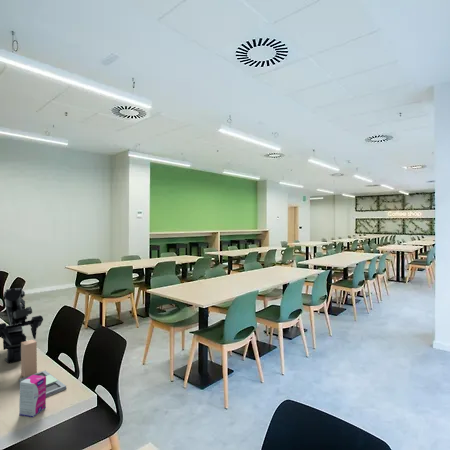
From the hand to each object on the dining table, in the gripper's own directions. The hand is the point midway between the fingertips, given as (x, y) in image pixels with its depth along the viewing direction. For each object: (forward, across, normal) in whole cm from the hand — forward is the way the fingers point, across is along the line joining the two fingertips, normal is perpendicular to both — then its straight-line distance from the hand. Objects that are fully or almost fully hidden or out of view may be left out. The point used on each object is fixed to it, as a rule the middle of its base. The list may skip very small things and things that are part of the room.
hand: (23, 341), depth 140 cm
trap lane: (+23, 0, -5) cm, 24 cm away
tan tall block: (+13, 0, +5) cm, 14 cm away
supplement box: (+35, -8, -17) cm, 40 cm away
